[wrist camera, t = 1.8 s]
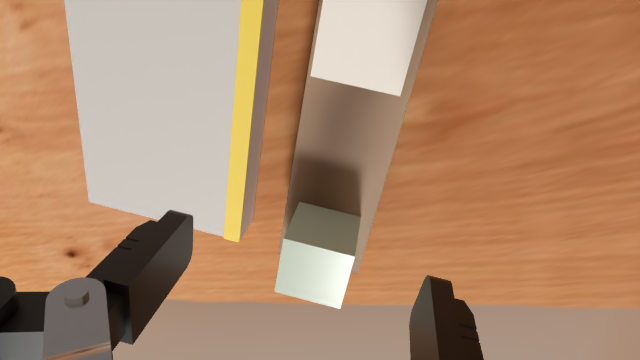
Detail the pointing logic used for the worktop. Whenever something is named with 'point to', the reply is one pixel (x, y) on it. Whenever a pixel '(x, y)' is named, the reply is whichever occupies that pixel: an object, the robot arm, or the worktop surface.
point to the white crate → (367, 42)
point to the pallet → (348, 142)
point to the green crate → (318, 254)
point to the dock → (173, 105)
